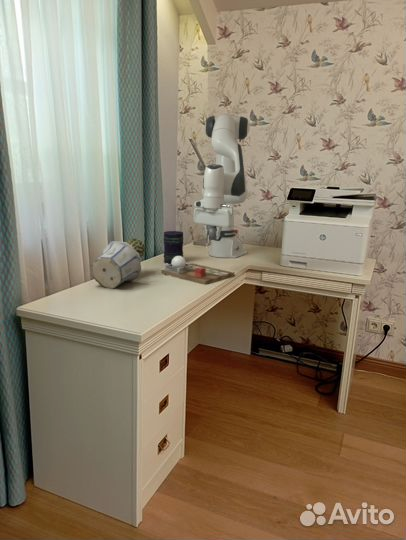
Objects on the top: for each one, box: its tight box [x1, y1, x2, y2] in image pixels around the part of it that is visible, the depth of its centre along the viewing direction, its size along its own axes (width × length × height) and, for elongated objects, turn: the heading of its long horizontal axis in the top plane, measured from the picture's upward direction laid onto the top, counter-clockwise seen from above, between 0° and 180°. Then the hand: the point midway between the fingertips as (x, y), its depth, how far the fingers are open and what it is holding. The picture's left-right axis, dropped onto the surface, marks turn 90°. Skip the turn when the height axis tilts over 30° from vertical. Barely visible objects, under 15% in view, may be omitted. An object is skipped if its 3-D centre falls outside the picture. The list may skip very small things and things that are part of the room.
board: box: [160, 263, 235, 285], centre depth 190 cm, size 20×26×5 cm
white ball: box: [171, 256, 187, 268], centre depth 190 cm, size 6×6×6 cm
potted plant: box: [90, 237, 146, 289], centre depth 177 cm, size 18×18×30 cm
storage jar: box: [163, 230, 184, 265], centre depth 213 cm, size 10×10×15 cm
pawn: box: [208, 225, 217, 241], centre depth 185 cm, size 4×4×8 cm
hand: (212, 235), depth 186 cm, fingers closed on pawn, 4 cm apart
